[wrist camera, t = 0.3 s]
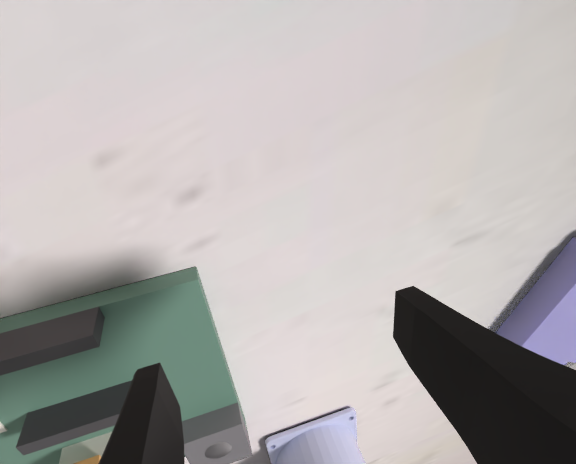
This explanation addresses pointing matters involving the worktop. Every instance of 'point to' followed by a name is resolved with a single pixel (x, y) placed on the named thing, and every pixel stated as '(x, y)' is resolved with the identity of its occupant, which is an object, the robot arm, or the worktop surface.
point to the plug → (85, 451)
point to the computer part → (548, 312)
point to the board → (116, 370)
